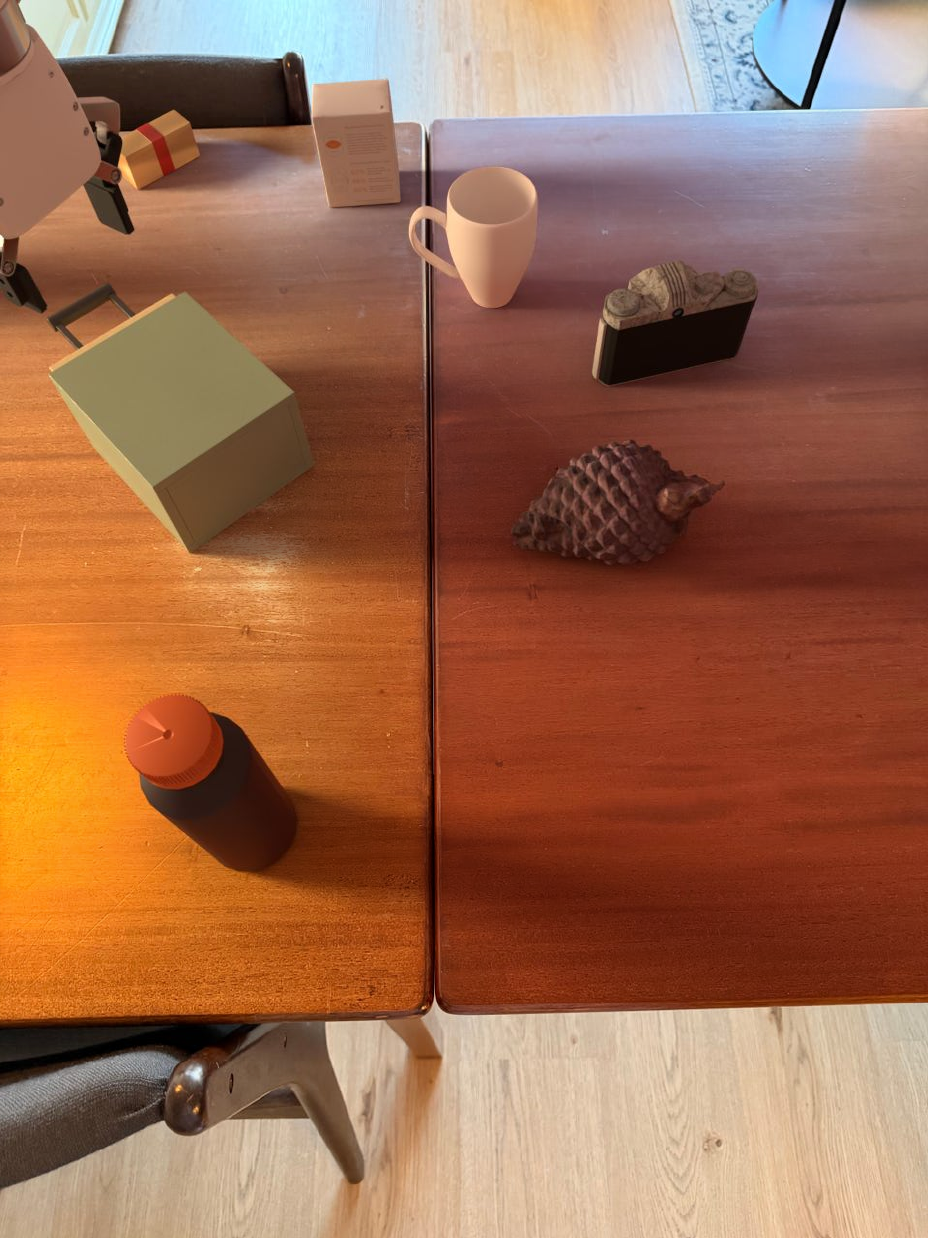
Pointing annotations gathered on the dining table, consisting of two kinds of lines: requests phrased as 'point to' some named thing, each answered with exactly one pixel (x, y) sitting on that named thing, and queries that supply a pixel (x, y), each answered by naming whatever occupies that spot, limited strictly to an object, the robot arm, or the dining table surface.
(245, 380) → the cabinet
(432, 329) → the dining table surface
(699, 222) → the dining table surface
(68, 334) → the drawer
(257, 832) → the bottle
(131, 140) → the tan rectangular block
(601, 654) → the dining table surface
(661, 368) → the camera
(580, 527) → the pine cone
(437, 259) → the mug
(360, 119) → the small box
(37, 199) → the robot arm
